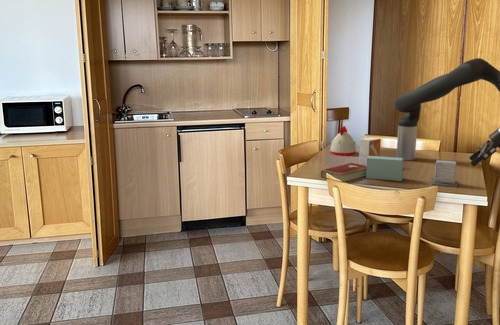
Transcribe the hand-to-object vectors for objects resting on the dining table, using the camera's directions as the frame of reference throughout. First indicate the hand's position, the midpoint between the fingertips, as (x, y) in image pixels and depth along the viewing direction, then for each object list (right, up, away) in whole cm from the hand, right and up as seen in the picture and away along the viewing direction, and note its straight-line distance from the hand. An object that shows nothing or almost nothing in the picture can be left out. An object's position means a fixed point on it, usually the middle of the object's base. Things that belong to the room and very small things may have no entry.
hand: (471, 162), depth 195 cm
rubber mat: (-9, -9, +5) cm, 14 cm away
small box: (-32, -1, +40) cm, 51 cm away
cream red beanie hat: (-40, +5, +67) cm, 78 cm away
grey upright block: (-9, -9, +5) cm, 13 cm away
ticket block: (-32, -7, +15) cm, 35 cm away
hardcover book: (-47, -7, +20) cm, 52 cm away
